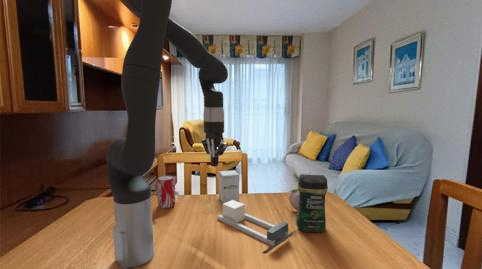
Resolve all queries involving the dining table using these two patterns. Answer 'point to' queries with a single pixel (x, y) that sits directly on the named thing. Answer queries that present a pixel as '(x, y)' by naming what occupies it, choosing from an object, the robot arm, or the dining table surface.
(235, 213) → the block
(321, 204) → the coffee jar
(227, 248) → the dining table surface
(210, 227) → the dining table surface
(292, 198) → the decorative fruit
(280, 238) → the grey slide rail
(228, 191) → the supplement box
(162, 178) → the soda can
